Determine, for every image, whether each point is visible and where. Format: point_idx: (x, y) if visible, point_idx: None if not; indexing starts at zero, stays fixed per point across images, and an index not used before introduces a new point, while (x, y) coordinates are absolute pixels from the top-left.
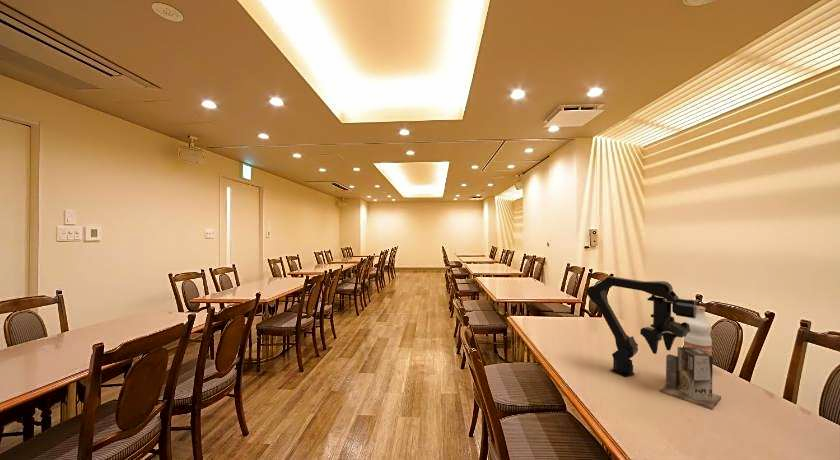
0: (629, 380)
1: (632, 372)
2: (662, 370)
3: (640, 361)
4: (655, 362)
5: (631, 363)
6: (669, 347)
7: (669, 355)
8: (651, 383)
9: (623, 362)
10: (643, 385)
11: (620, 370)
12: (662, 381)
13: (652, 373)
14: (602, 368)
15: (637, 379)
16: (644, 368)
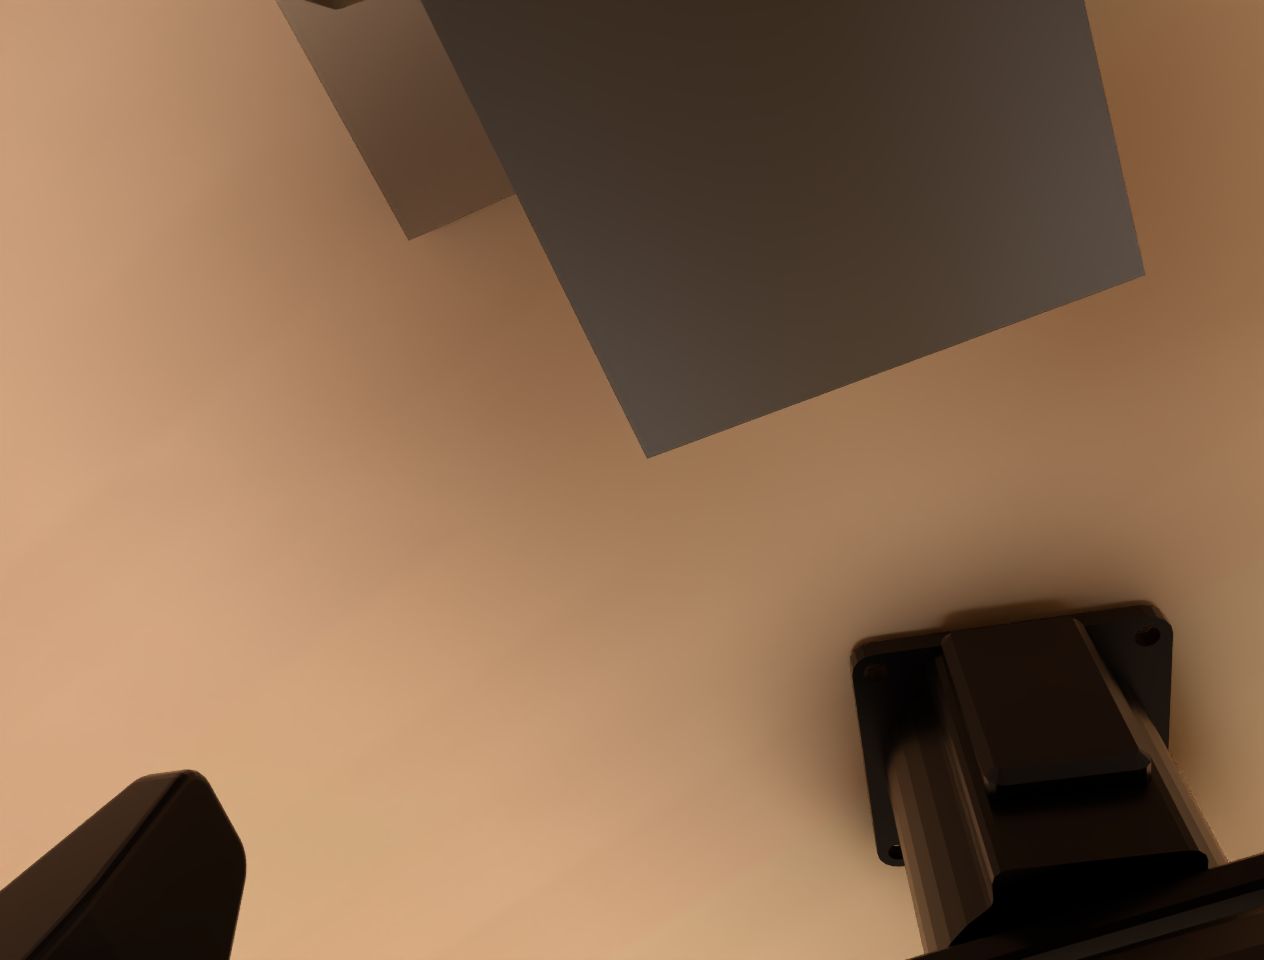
0: (1228, 481)
1: (975, 651)
2: (131, 656)
3: (252, 948)
4: (8, 882)
5: (1014, 811)
6: (114, 915)
7: (843, 285)
8: None
9: (1216, 863)
10: (1191, 246)
11: (1164, 745)
12: (567, 307)
13: (446, 607)
14: None
15: (1014, 481)
16: (416, 770)
